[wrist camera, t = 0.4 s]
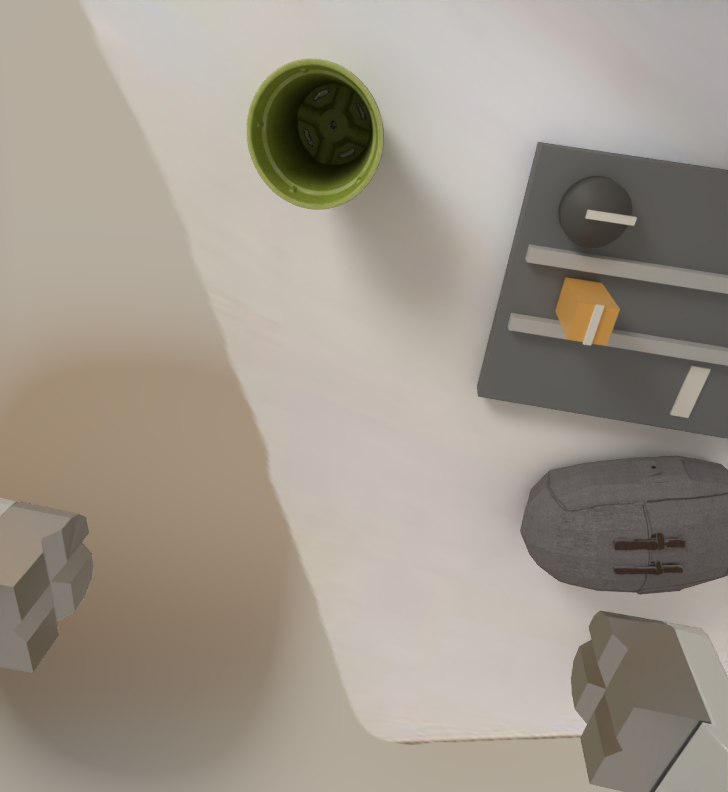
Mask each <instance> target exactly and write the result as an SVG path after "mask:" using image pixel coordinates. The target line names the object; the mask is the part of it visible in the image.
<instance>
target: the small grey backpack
mask: <svg viewBox="0 0 728 792" xmlns="http://www.w3.org/2000/svg"><path fill="white" fill-rule="evenodd" d="M520 532H521V535H522V537H523V539H524V542H525V544H526V547H527V549H528V552H529V554H530V555H531V557H532V558H533V559H534V561H535V562H536V563H537V565H538V566H540V567H541V568H542V569H544V570H545V571H546V572H548V573H549V574H550V575H551V576H553V577H554V578H555V579H557V580H558V581H560V582H564V583H567V584H571V585H575V586H579V587H584V588H588V589H593V590H597V591H616V592H637V593H638V594H649V593H660V592H671V591H680V590H682V589H684V588H688V587H691V586H695V585H698V584H701V583H705V582H708V581H711V580H715V579H718V578H722V577H725V576H727V575H728V470H727V469H726V468H725V467H724V466H723V465H721V464H718V463H712V462H707V461H702V460H696V459H691V458H686V457H680V456H665V457H646V458H628V459H618V460H609V461H599V462H590V463H583V464H579V465H574V466H570V467H565V468H561V469H556V470H551V471H549V472H548V473H547V474H546V475H545V476H544V477H543V478H542V479H541V480H540V481H539V482H538V483H537V484H536V485H535V486H534V487H533V488H532V489H531V491H530V496H529V500H528V503H527V505H526V508H525V512H524V517H523V521H522V526H521V530H520Z"/></svg>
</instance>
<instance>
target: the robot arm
mask: <svg viewBox="0 0 728 792" xmlns="http://www.w3.org/2000/svg"><path fill="white" fill-rule="evenodd" d="M88 534H89V529H88V524H87V519H86V517H85V516H83V515H80V514H77V513H73V512H68V511H63V510H59V509H53V508H49V507H45V506H40V505H35V504H31V503H26V502H18V501H14V500H8V499H4V498H0V667H3V668H9V669H15V670H21V671H27V672H34V671H35V669H36V668H37V666H38V665H39V663H40V662H41V661H42V659H43V658H44V656H45V655H46V653H47V652H48V650H49V649H50V647H51V646H52V645H53V643H54V642H55V640H56V639H57V637H58V636H59V632H58V623H57V622H58V621H59V620H61V619H63V618H65V617H67V616H68V615H70V614H72V613H74V612H75V611H76V609H77V608H78V606H79V605H80V603H81V602H82V600H83V599H84V597H85V595H86V592H87V589H88V587H89V584H90V581H91V579H92V571H93V559H92V553H91V552H90V551H89V550H88V549H87V547H86V546H85V545H84V544H83V543H82V542H83V540H84V539H85V538H86V536H87V535H88ZM589 630H590V634H591V639H592V640H590V641H588V642H586V643H584V644H583V645H581V646H580V647H579V649H578V651H577V654H576V656H575V659H574V662H573V669H572V677H571V683H572V696H573V702H574V707H575V710H576V711H577V712H578V714H579V715H580V716H581V717H582V719H583V720H584V721H585V722H586V723H587V726H586V728H585V730H584V732H583V734H582V736H581V743H582V748H583V753H584V758H585V762H586V768H587V773H588V777H589V782H590V784H593V785H597V786H601V787H606V788H610V789H615V790H619V791H624V792H728V677H727V675H726V673H725V670H724V668H723V666H722V664H721V662H720V660H719V657H718V655H717V653H716V651H715V649H714V647H713V644H712V642H711V640H710V638H709V636H708V635H707V634H706V633H705V632H704V631H703V630H702V629H701V628H696V627H690V626H684V625H679V624H673V623H664V622H662V621H656V620H651V619H645V618H639V617H634V616H628V615H622V614H616V613H611V612H605V611H599V612H598V613H597V614H596V615H594V617H593V619H592V621H591V623H590V625H589Z"/></svg>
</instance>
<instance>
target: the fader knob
mask: <svg viewBox="0 0 728 792" xmlns="http://www.w3.org/2000/svg"><path fill="white" fill-rule="evenodd" d="M619 311H620V308H619V307H618V306H617V304H616V303H615V301H614V300H613V298H612V297H611V295H610V294H609V292H608V291H607V289H606V288H605V286H604V285H603V284H602V283H600V282H594V281H587V280H581V279H575V278H568V277H565V280H564V283H563V287H562V290H561V293H560V297H559V300H558V303H557V306H556V310H555V312H556V314H557V317H558V319H559V321H560V324H561V326H562V328H563V331H564V333H565V336H566V338H567V340H573V341H579V342H583V345H590V346H591V344H597V345H603V346H607V344H608V341H609V338H610V336H611V333H612V330H613V327H614V325H615V322H616V319H617V316H618V313H619Z"/></svg>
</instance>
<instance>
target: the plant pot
mask: <svg viewBox="0 0 728 792" xmlns="http://www.w3.org/2000/svg"><path fill="white" fill-rule="evenodd" d="M325 90H326V91H329V95H326V96H323V97H321V98H319V99H318V100H316V101H314V98H315V96H316V95H317V94H318V93H320V92H322V91H325ZM355 103H359V104H360V106H361V108H362V110H363V112H364V115H365V117H364V120H362V119H361V116H360V113H359V111H358V109H357V107H356V105H355ZM331 122H335V123H336V125H337V127H336V128H335V129H333V128H331ZM305 129H306V130H308V133H309V135H310V138H311V140H312V142H313V143H314V146H311V145H310V144H309V142H308V140H307V139H306V137H305V133H304V131H305ZM247 142H248V148H249V152H250V155H251V158H252V161H253V163H254V165H255V167H256V169H257V171H258V173H259V175H260V176H261V178H262V179H263V180H264V182H265V183H266V184H267V185H268V187H269V188H270V189H271V190H272V191H273V192H275V193H276V194H277V195H278V196H279V197H281V198H283V199H284V200H286V201H288V202H290V203H292V204H294V205H296V206H299V207H303V208H307V209H329V208H333V207H337V206H339V205H342V204H344V203H346V202H348V201H350V200H351V199H353V198H354V197H355V196H357V195H358V194H359V193H360V192H361V191H362V190H363V189H364V188H365V187H366V186H367V185H368V183H369V182H370V181H371V179H372V177H373V176H374V174H375V172H376V170H377V168H378V165H379V163H380V159H381V156H382V151H383V142H384V131H383V123H382V119H381V115H380V112H379V109H378V106H377V104H376V102H375V100H374V98H373V96H372V95H371V93H370V91H369V90H368V89H367V87H366V86H365V85H364V84H363V83H362V82H361V81H360V79H359V78H357V77H356V76H355V75H354V74H353V73H351V72H350V71H349V70H347V69H345V68H344V67H342V66H340V65H338V64H335V63H333V62H330V61H326V60H322V59H302V60H297V61H294V62H291V63H288V64H286V65H284V66H282V67H280V68H279V69H277V70H276V71H274V72H273V73H272V74H271V75H269V76H268V77H267V78H266V80H265V81H264V82H263V83H262V85H261V86H260V87H259V89H258V91H257V92H256V94H255V96H254V98H253V100H252V103H251V106H250V109H249V113H248V119H247ZM351 148H354V152H353V154H351V155H349V156H347V157H344V158H340V157H339V154H341V153H345V152H347V151H349V150H350V149H351Z"/></svg>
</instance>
